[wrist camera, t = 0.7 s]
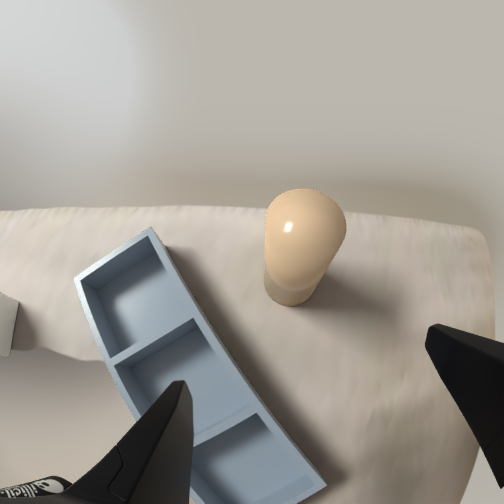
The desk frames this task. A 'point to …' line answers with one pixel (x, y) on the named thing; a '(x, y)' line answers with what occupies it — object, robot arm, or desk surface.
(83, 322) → the desk surface
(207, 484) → the blue-grey compartment tray
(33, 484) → the beverage can
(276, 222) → the pin
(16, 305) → the medicine bottle
